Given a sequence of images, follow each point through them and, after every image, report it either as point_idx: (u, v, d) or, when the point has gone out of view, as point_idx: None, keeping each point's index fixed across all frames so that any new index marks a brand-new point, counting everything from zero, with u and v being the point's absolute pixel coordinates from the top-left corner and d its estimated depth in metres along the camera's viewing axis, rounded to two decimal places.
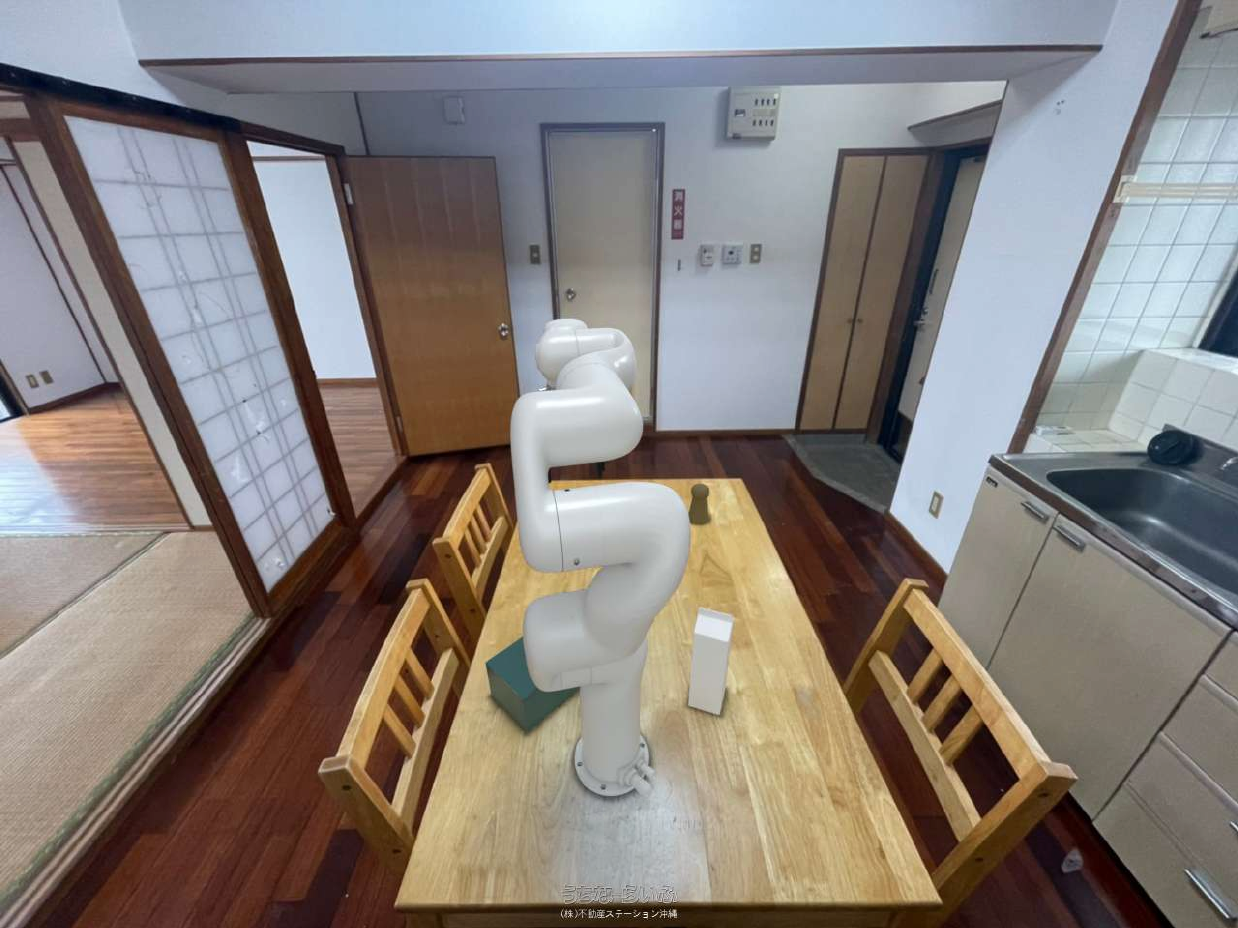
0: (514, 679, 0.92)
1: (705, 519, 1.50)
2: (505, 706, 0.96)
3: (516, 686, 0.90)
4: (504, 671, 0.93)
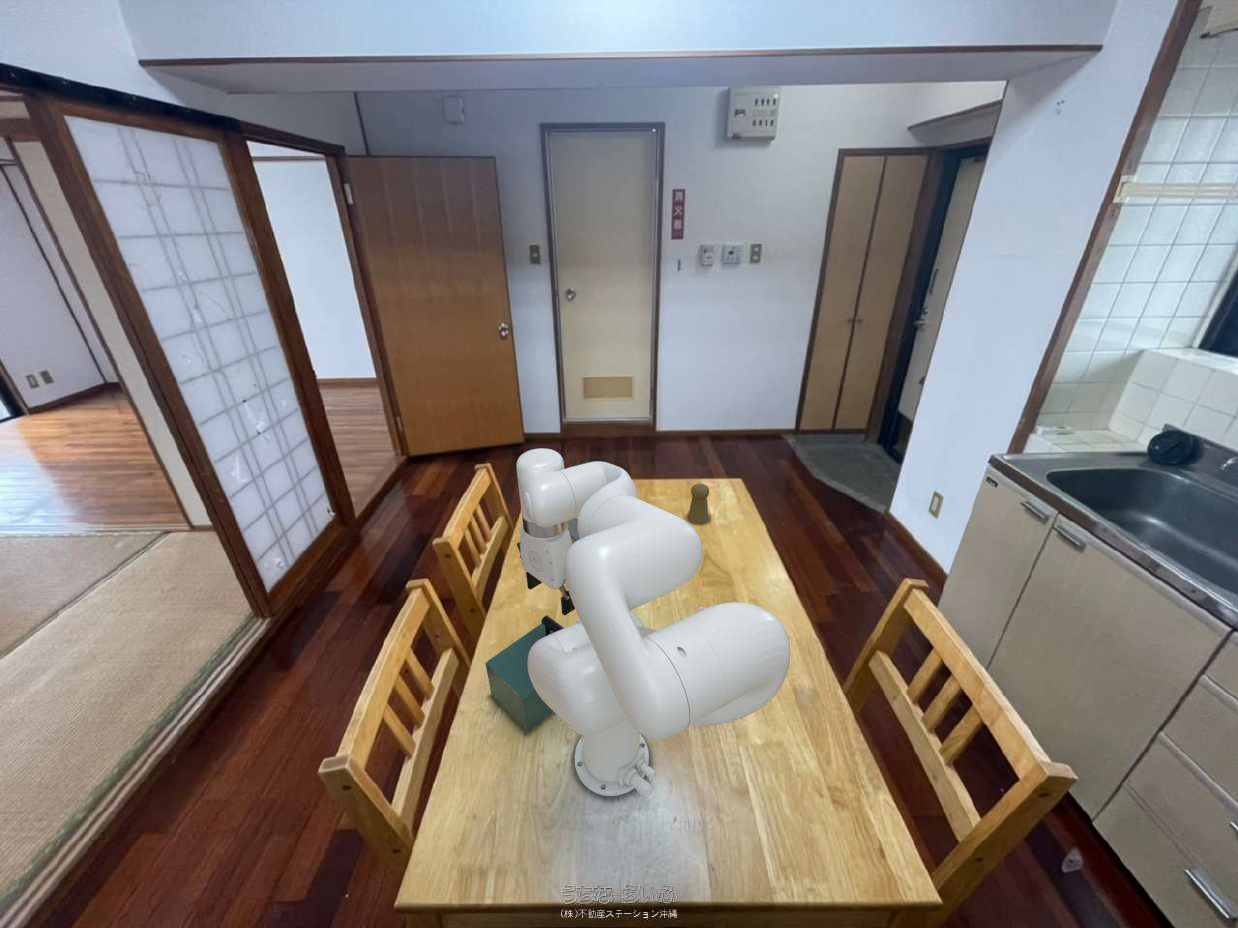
0: (514, 679, 0.92)
1: (705, 519, 1.50)
2: (505, 706, 0.96)
3: (516, 686, 0.90)
4: (504, 671, 0.93)
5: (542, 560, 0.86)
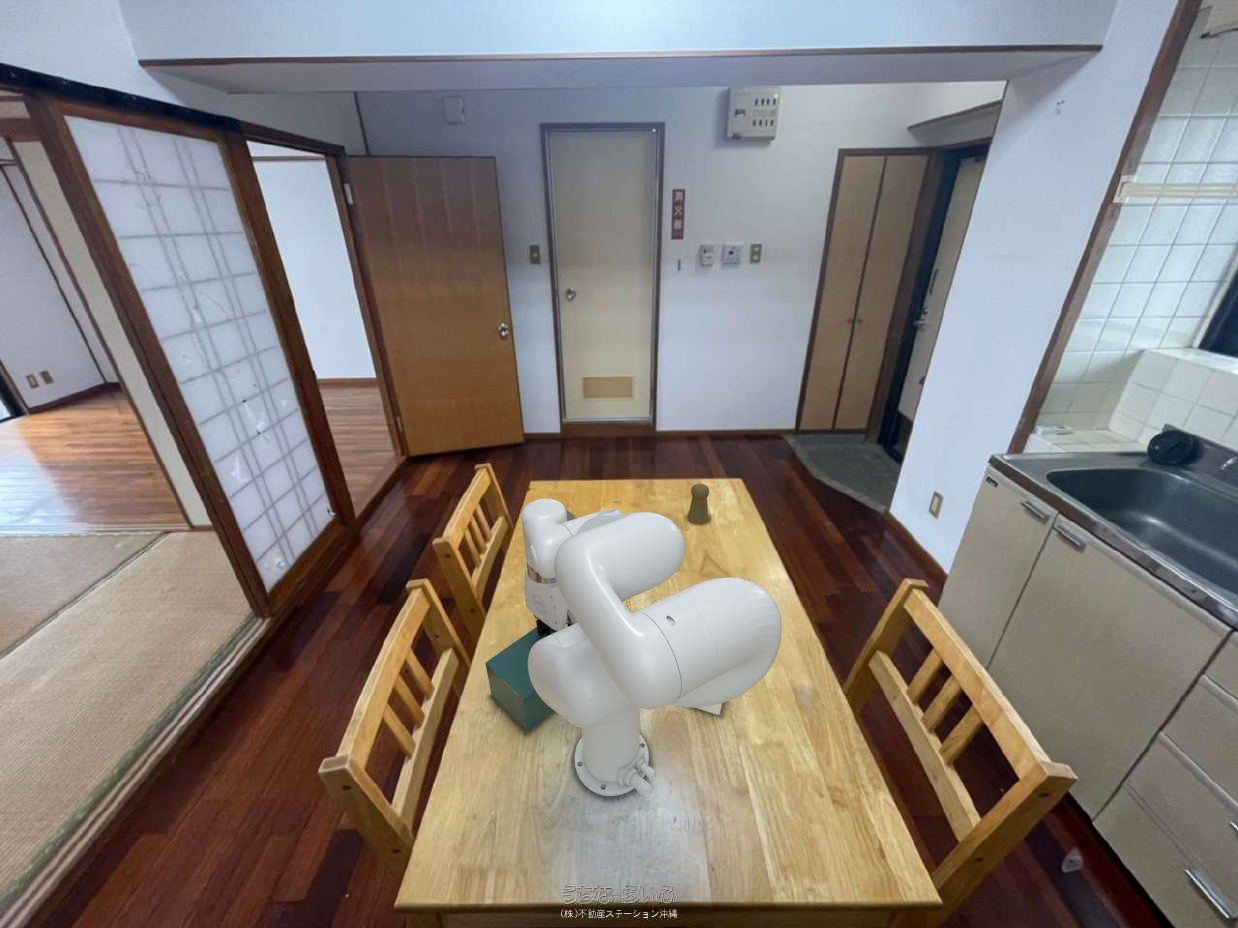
0: (514, 679, 0.92)
1: (705, 519, 1.50)
2: (505, 706, 0.96)
3: (516, 686, 0.90)
4: (504, 671, 0.93)
5: (546, 604, 0.90)
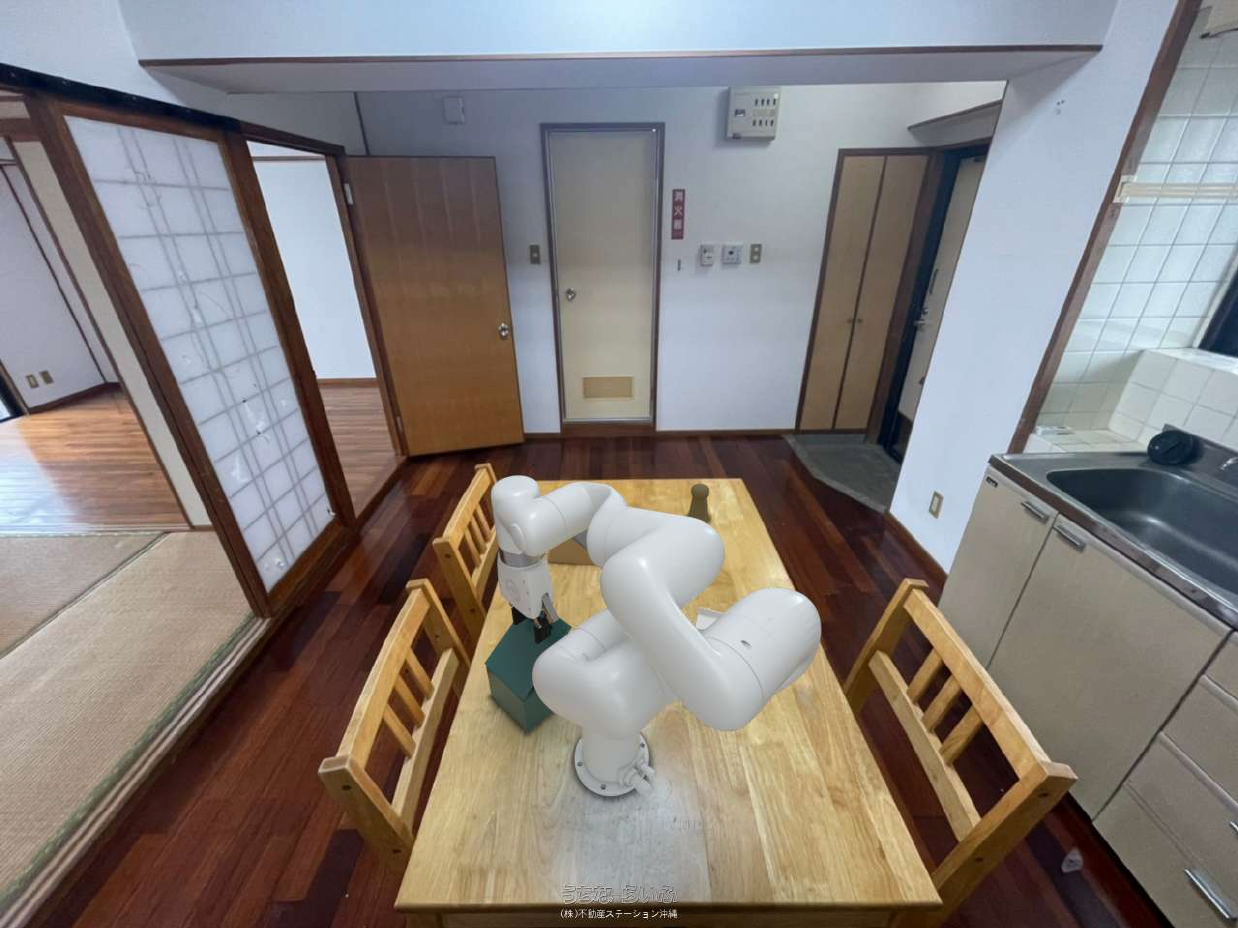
0: (511, 678, 0.91)
1: (705, 519, 1.50)
2: (505, 706, 0.96)
3: (514, 686, 0.90)
4: (501, 670, 0.92)
5: (519, 589, 0.84)
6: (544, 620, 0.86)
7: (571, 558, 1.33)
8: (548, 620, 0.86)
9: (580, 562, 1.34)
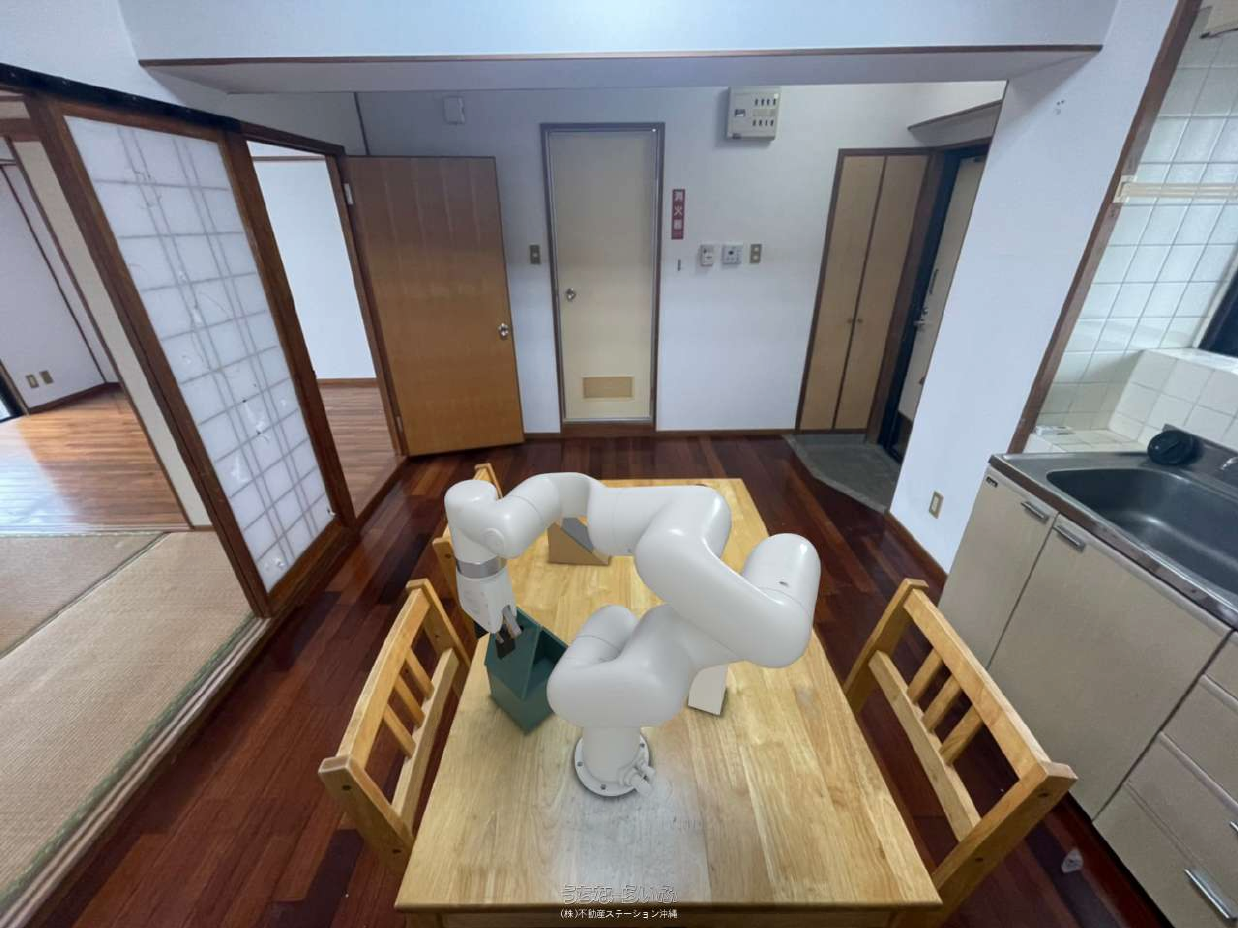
0: (507, 679, 0.90)
1: None
2: (505, 706, 0.96)
3: (512, 688, 0.89)
4: (498, 671, 0.92)
5: (478, 602, 0.78)
6: (506, 634, 0.80)
7: (571, 558, 1.33)
8: (510, 634, 0.80)
9: (580, 562, 1.34)
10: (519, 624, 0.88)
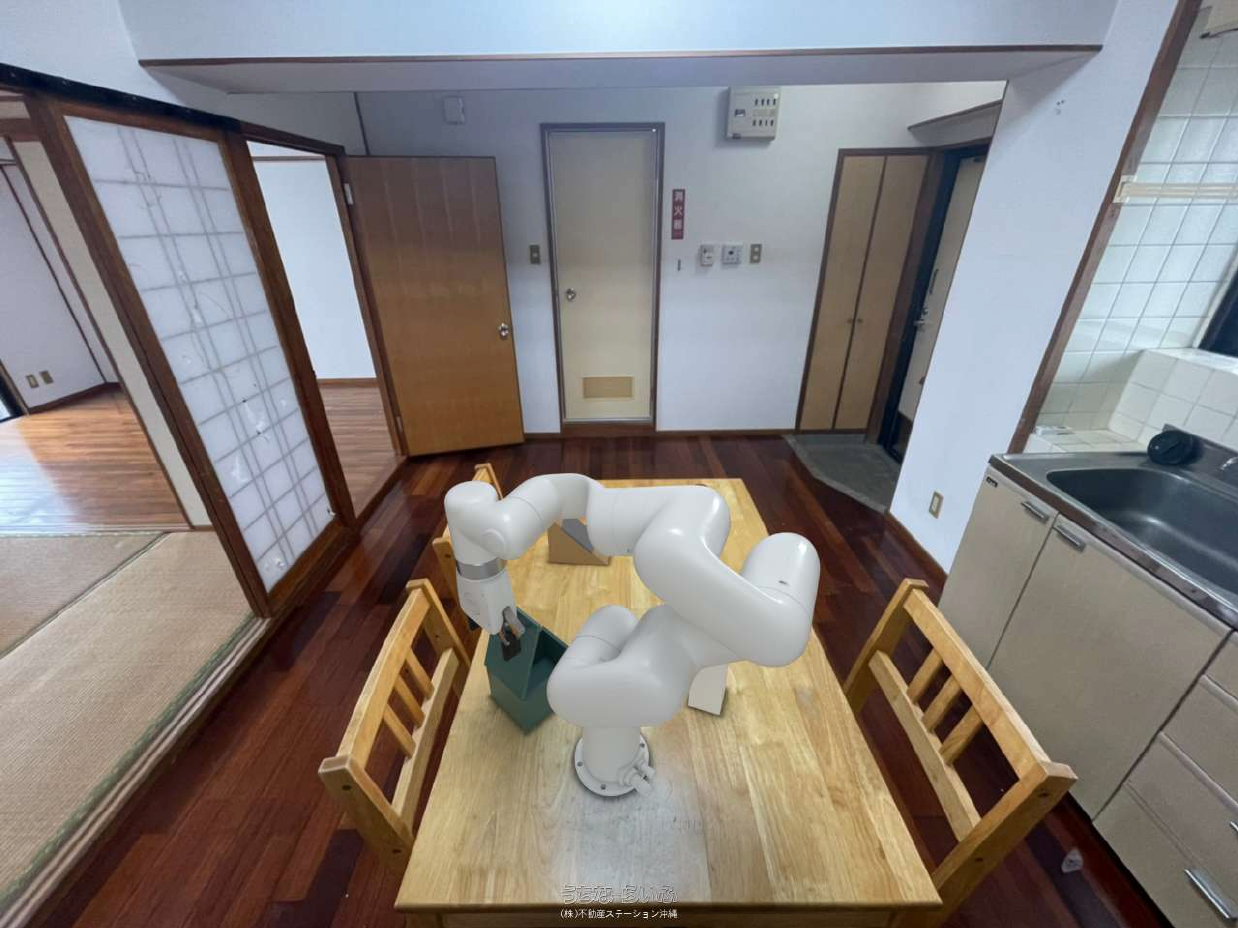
0: (507, 679, 0.90)
1: None
2: (505, 706, 0.96)
3: (512, 688, 0.89)
4: (498, 671, 0.92)
5: (478, 603, 0.78)
6: (512, 636, 0.79)
7: (571, 558, 1.33)
8: (515, 634, 0.78)
9: (580, 562, 1.34)
10: None
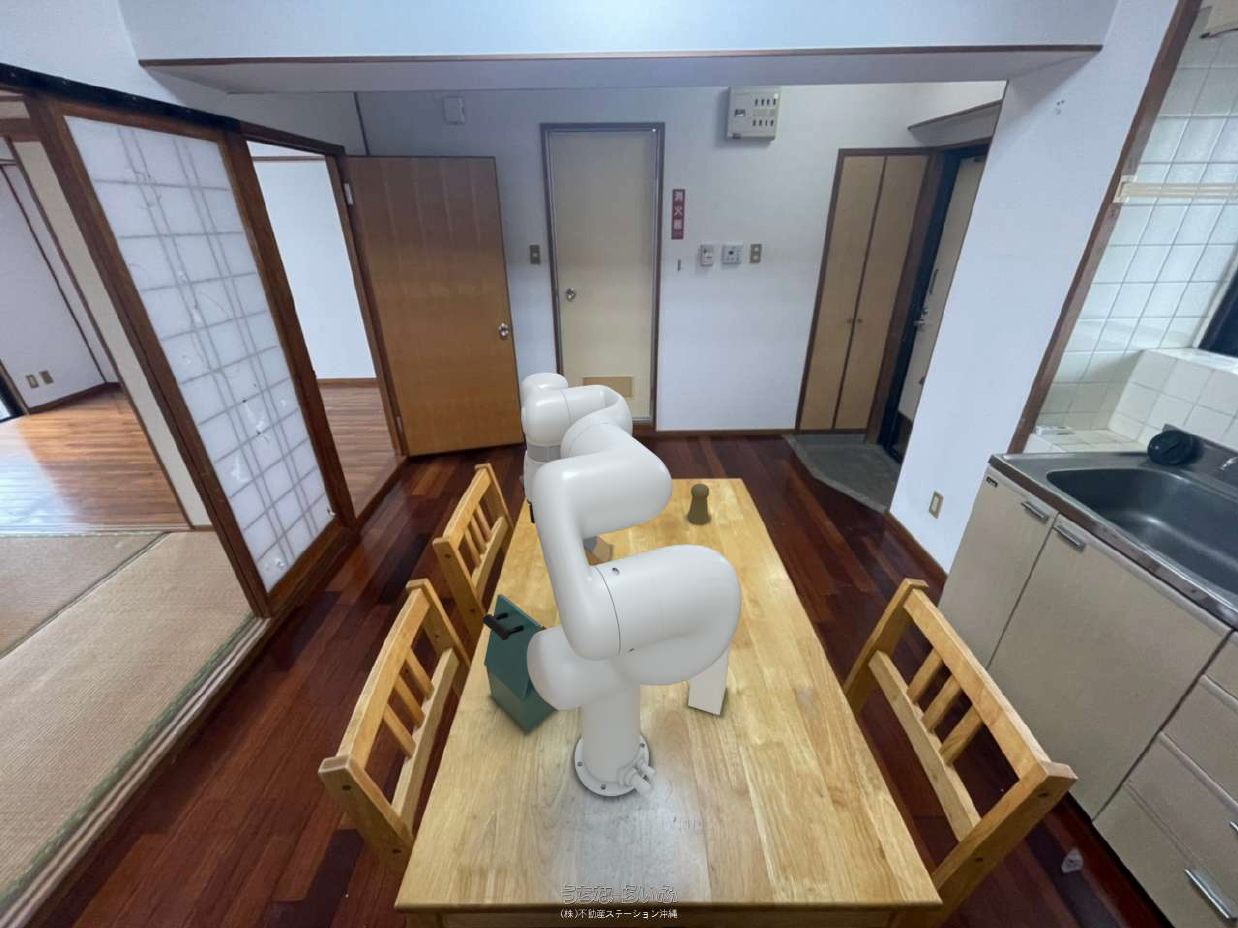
0: (507, 679, 0.90)
1: (705, 519, 1.50)
2: (505, 706, 0.96)
3: (512, 688, 0.89)
4: (498, 671, 0.92)
5: None
6: None
7: None
8: None
9: None
10: (519, 624, 0.88)
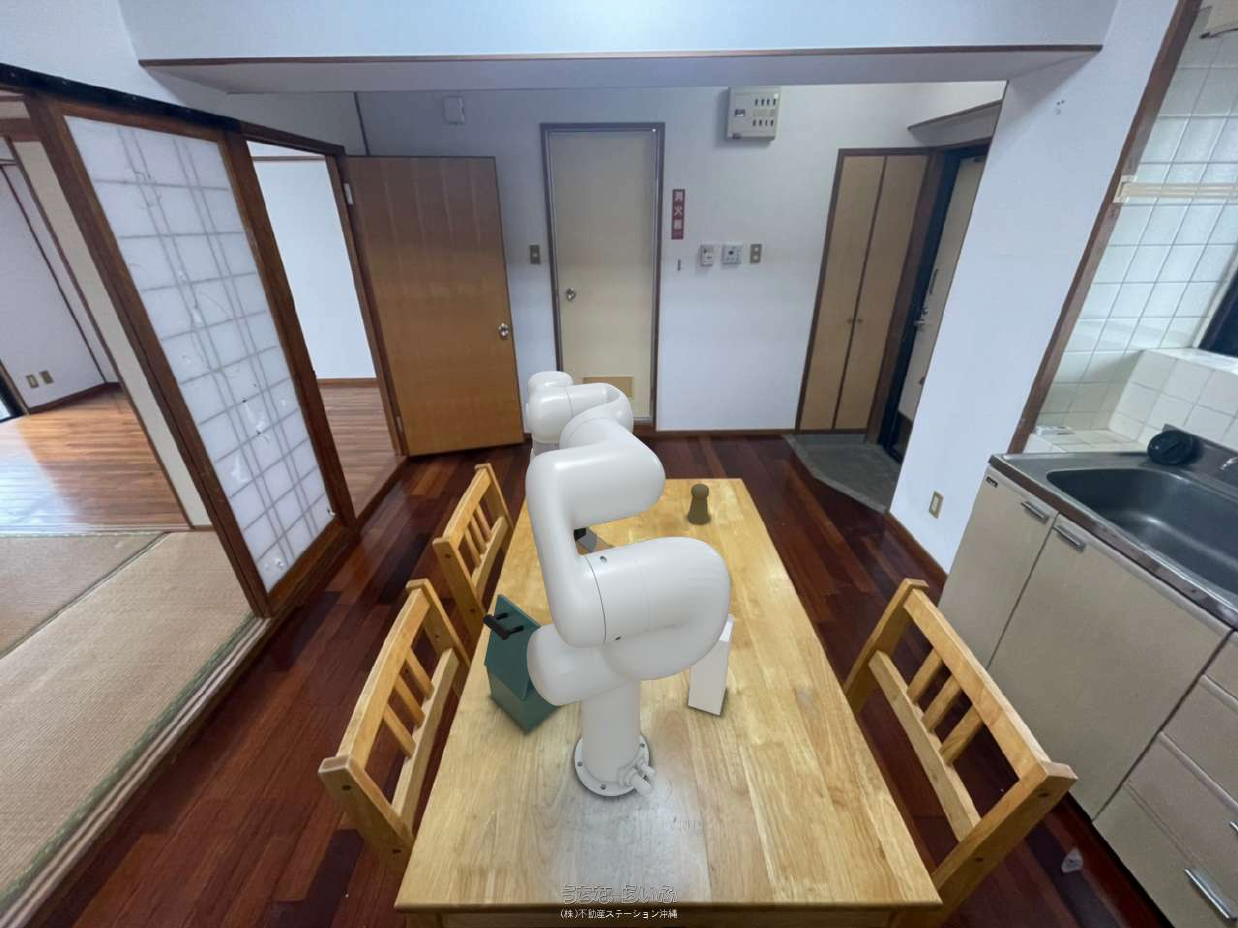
0: (507, 679, 0.90)
1: (705, 519, 1.50)
2: (505, 706, 0.96)
3: (512, 688, 0.89)
4: (498, 671, 0.92)
5: None
6: None
7: None
8: None
9: None
10: (519, 624, 0.88)
